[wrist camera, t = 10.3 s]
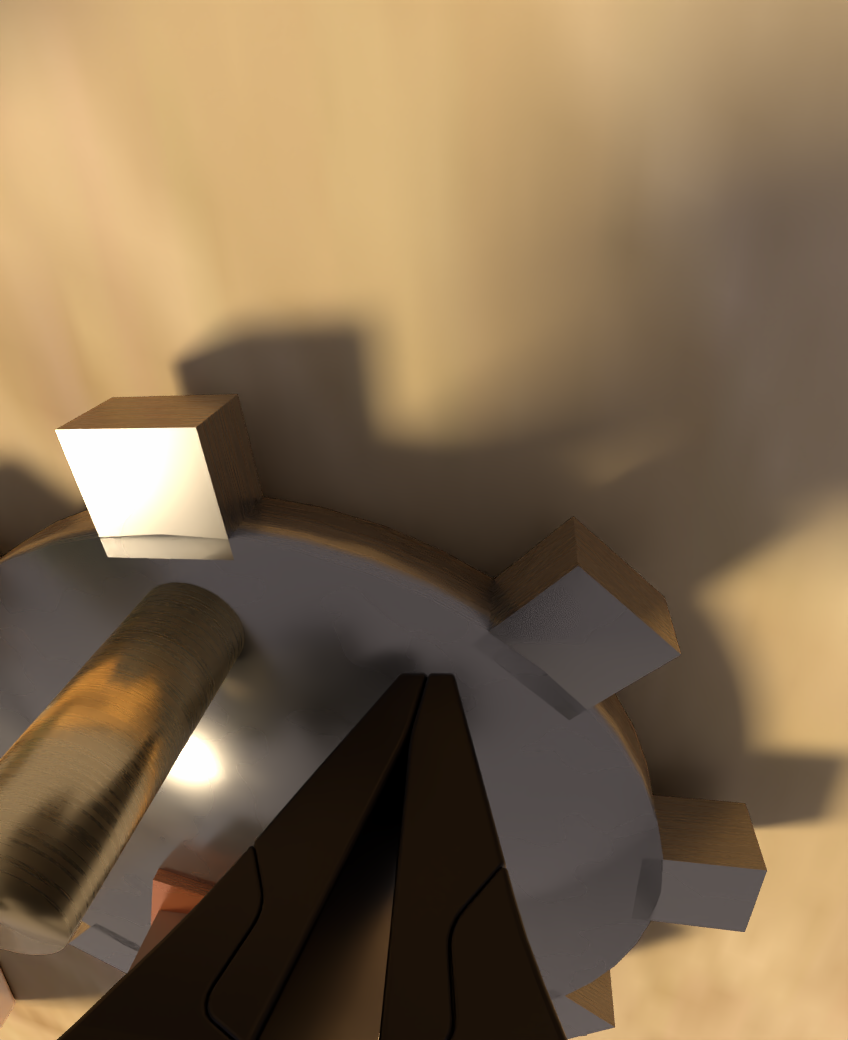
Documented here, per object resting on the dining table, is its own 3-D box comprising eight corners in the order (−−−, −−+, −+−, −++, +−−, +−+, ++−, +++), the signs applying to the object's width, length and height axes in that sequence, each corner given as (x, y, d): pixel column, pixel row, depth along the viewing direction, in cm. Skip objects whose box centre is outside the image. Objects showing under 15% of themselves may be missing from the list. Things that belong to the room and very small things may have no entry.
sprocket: (675, 1036, 20) (729, 1381, 14) (79, 945, 23) (-61, 1188, 18) (872, 376, 9) (1468, 767, 3) (-309, 409, 12) (-979, 609, 7)
